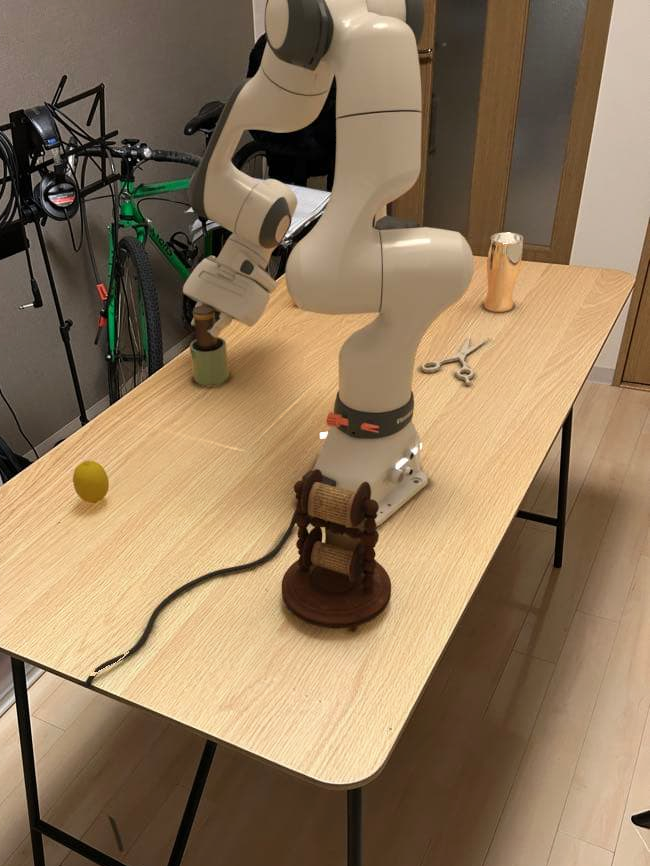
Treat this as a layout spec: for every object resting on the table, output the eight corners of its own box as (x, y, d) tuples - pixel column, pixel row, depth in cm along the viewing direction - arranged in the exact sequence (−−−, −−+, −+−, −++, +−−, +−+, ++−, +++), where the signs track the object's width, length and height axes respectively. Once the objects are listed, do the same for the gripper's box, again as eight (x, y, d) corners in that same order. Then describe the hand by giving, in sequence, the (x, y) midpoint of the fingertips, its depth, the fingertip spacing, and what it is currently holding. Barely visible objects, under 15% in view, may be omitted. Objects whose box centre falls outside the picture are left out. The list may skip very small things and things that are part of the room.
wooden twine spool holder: (407, 581, 114) (415, 461, 101) (363, 651, 104) (366, 529, 92) (312, 551, 120) (308, 435, 108) (262, 615, 111) (252, 496, 98)
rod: (213, 378, 160) (206, 315, 152) (196, 374, 162) (188, 311, 154) (224, 368, 163) (218, 306, 155) (207, 365, 165) (200, 303, 157)
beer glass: (480, 312, 178) (488, 243, 169) (483, 299, 183) (490, 231, 174) (514, 313, 176) (523, 244, 167) (515, 300, 181) (525, 232, 172)
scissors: (416, 370, 158) (456, 328, 171) (416, 374, 159) (456, 332, 171) (468, 382, 153) (506, 338, 166) (468, 386, 154) (505, 341, 166)
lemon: (96, 488, 137) (87, 448, 132) (119, 499, 134) (110, 458, 129) (71, 505, 134) (61, 464, 129) (94, 516, 131) (84, 475, 126)
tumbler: (216, 390, 160) (213, 355, 155) (187, 383, 163) (182, 348, 158) (235, 374, 164) (232, 339, 160) (206, 368, 168) (202, 333, 163)
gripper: (197, 245, 159) (162, 308, 161) (263, 271, 146) (224, 340, 148) (217, 261, 164) (183, 322, 166) (283, 288, 151) (245, 354, 153)
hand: (203, 331), depth 157 cm, fingers closed on rod, 4 cm apart
